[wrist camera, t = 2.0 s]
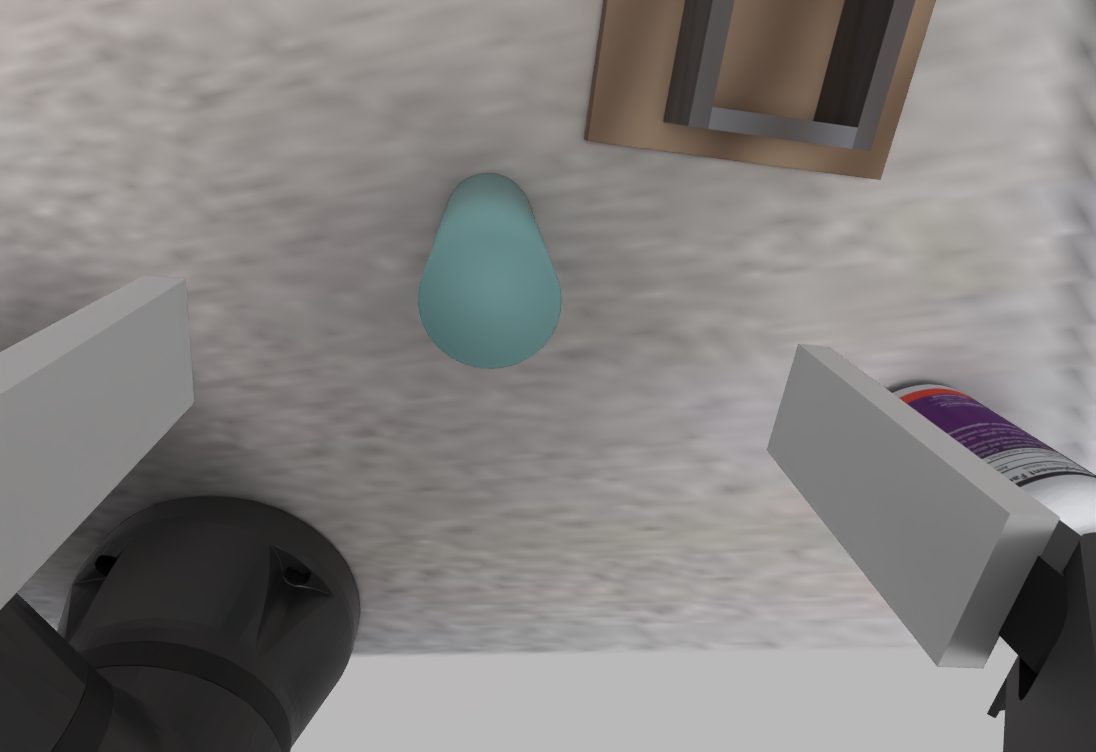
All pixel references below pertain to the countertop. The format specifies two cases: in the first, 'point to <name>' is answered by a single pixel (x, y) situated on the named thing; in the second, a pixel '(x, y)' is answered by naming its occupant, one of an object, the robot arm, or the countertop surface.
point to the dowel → (489, 277)
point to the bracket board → (757, 79)
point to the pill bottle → (1011, 453)
